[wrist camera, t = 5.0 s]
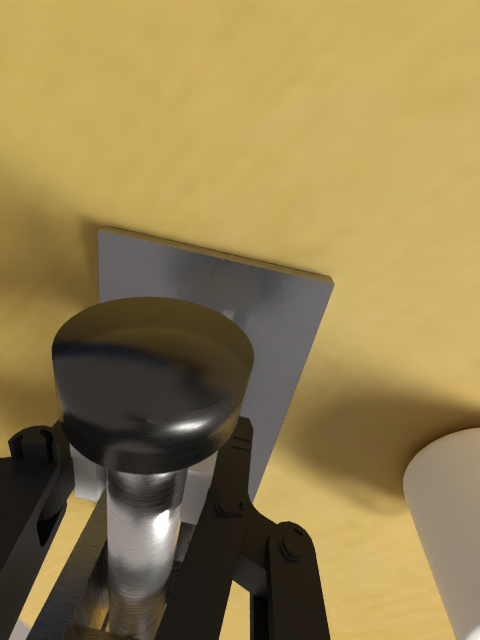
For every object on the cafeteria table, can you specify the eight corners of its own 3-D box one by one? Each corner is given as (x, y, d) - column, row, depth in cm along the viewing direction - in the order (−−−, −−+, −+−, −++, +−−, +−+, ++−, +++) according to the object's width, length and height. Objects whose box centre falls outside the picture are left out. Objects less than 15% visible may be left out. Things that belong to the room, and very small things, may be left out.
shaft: (114, 283, 10) (-7, 378, 6) (259, 317, 10) (244, 436, 6) (113, 587, 21) (71, 698, 17) (184, 603, 21) (159, 719, 17)
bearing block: (107, 225, 16) (-391, 430, 4) (331, 277, 16) (483, 635, 4) (110, 513, 29) (-10, 765, 17) (234, 542, 29) (202, 816, 17)
